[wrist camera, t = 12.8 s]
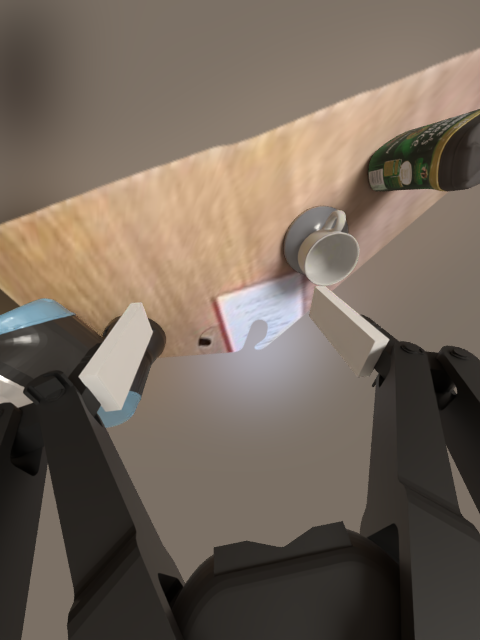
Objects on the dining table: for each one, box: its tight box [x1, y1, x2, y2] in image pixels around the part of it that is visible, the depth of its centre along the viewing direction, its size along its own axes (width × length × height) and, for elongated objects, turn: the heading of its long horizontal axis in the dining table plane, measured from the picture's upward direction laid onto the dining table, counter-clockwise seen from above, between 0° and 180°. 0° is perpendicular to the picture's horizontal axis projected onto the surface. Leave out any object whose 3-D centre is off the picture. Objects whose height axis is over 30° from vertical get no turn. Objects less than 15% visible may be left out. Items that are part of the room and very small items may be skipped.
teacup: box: [298, 210, 359, 286], centre depth 40 cm, size 14×11×8 cm
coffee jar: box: [368, 109, 480, 191], centre depth 30 cm, size 10×8×19 cm
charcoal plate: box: [283, 206, 348, 274], centre depth 44 cm, size 15×15×2 cm
